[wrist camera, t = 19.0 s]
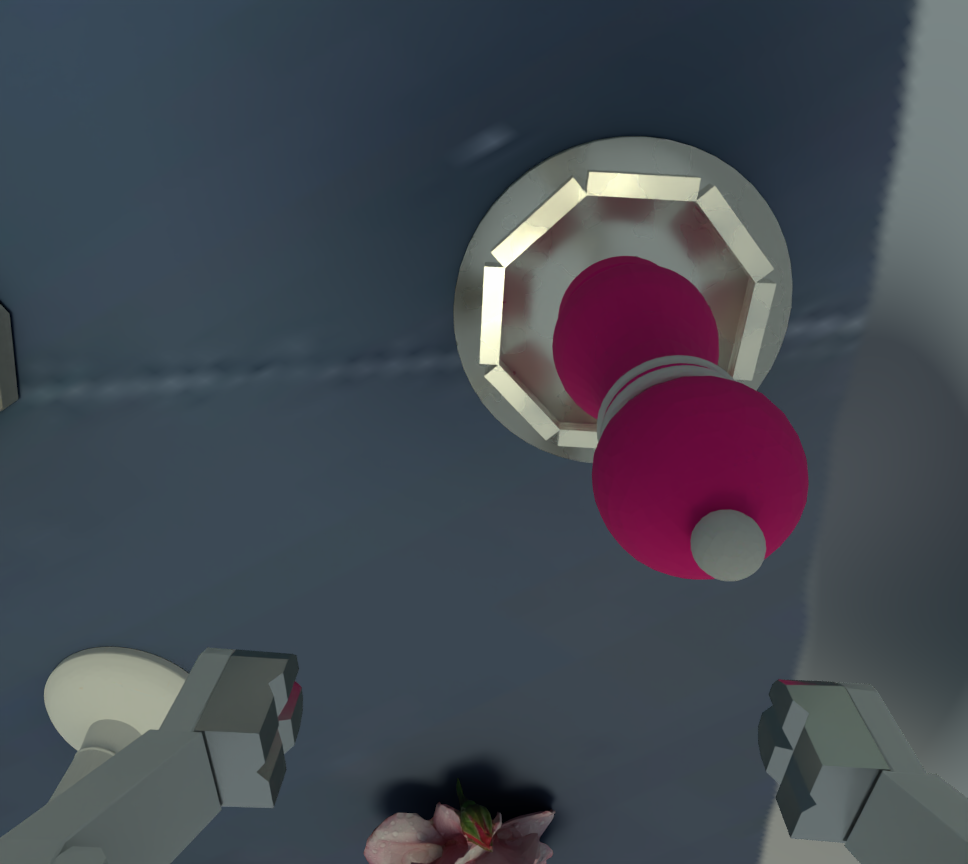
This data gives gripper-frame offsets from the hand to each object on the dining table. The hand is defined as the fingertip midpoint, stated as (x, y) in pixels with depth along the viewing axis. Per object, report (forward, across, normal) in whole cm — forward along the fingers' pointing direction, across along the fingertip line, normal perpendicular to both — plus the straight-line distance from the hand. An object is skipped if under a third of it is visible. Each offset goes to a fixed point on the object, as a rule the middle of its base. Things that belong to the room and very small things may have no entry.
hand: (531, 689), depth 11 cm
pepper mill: (+25, -5, +1) cm, 25 cm away
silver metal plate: (+26, -5, +1) cm, 26 cm away
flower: (+25, +1, +44) cm, 51 cm away
